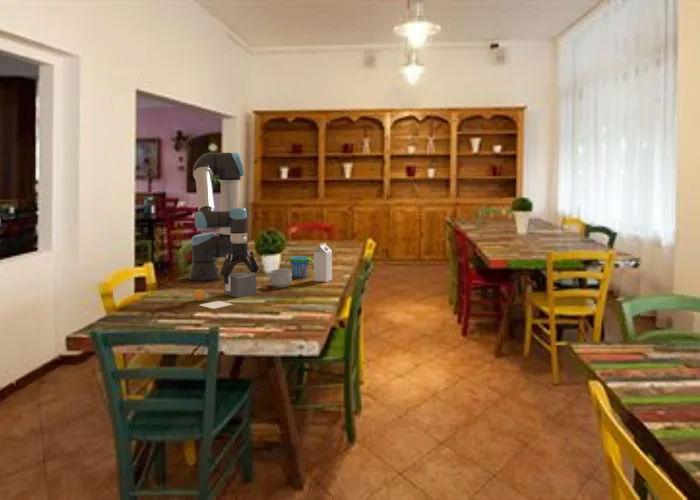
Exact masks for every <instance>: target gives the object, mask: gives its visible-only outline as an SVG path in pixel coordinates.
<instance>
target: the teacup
mask: <svg viewBox="0 0 700 500" xmlns="http://www.w3.org/2000/svg"><path fill="white" fill-rule="evenodd" d="M268 275H269V282H270V285H272V286H273V287H274V288H276V287H277V289H278V288H279V289H280V288H287V287H289V285H290V284H291V283H292V280H293V279H292V278H293V274H292V269H290V268H287V269H285V268H277V269H272V270H269V271H268Z"/></svg>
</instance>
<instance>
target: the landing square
mask: <svg viewBox="0 0 700 500" xmlns="http://www.w3.org/2000/svg"><path fill="white" fill-rule="evenodd" d="M233 305H234V304H232V303H229V302H225V301H221V300H216V301H212V302H206V303H202V304H199V306H200V307H204V308H208V309H210V310H211V309H212V310H215V309H220V308H225V307H229V306H233Z"/></svg>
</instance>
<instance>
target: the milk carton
mask: <svg viewBox="0 0 700 500" xmlns="http://www.w3.org/2000/svg"><path fill="white" fill-rule="evenodd" d="M313 262H314V270H313V281H314V282H321V283H322V282H323V283H327V282H330V281H331V280H333V250H332V249H331V248H330V247H329V246H328V245H327V242H323V243H320V244H319V246H318V248H316V249H315V250H314V251H313Z"/></svg>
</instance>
